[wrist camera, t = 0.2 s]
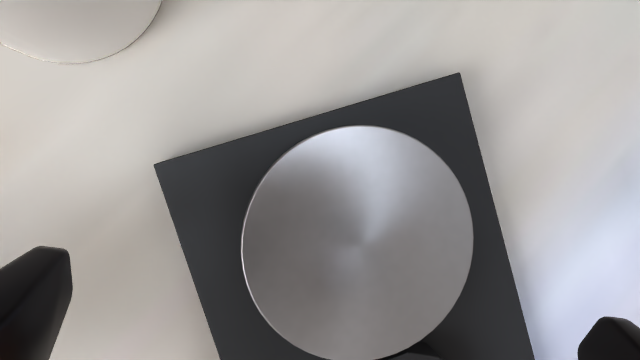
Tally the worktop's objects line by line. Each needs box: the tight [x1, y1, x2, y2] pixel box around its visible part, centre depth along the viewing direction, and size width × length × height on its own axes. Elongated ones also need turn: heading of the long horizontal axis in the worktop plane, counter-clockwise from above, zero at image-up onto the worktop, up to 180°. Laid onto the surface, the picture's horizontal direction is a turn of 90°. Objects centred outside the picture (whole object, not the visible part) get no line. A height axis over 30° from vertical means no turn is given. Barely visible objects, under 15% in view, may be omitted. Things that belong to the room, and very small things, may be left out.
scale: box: [154, 73, 535, 360], centre depth 22 cm, size 16×14×3 cm
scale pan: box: [241, 125, 474, 360], centre depth 20 cm, size 14×11×1 cm
